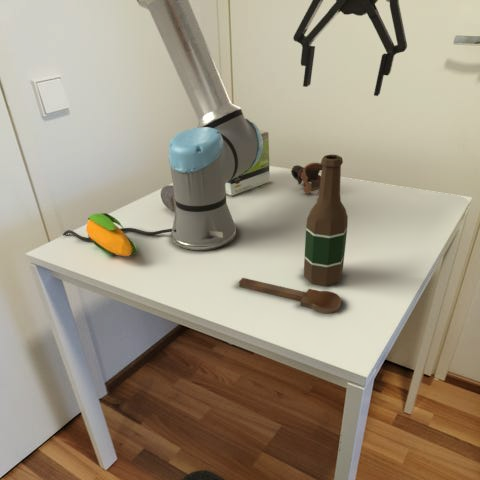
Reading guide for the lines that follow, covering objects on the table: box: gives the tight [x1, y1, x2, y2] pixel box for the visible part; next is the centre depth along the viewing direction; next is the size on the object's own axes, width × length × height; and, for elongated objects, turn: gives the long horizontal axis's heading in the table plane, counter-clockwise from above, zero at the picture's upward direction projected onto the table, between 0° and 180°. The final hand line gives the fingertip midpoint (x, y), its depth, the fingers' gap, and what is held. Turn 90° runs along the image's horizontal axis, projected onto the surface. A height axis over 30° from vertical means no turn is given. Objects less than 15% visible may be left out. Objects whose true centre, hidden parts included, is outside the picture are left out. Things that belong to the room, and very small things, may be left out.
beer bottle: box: [303, 154, 349, 287], centre depth 84 cm, size 8×8×24 cm
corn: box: [85, 212, 138, 257], centre depth 103 cm, size 7×8×20 cm
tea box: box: [225, 129, 271, 197], centre depth 130 cm, size 15×10×15 cm, turn 130°
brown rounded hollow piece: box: [290, 162, 322, 195], centre depth 129 cm, size 12×10×8 cm
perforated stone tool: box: [160, 184, 176, 214], centre depth 119 cm, size 15×5×7 cm, turn 38°
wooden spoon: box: [238, 277, 342, 314], centre depth 86 cm, size 20×6×1 cm, turn 63°
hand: (340, 90), depth 86 cm, fingers open, 13 cm apart
